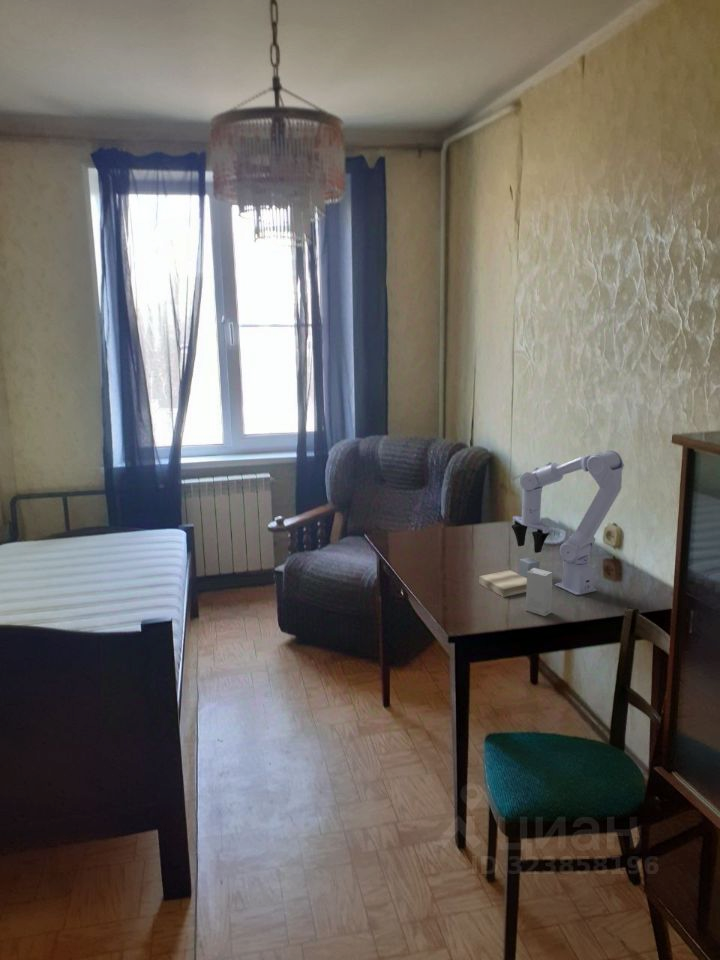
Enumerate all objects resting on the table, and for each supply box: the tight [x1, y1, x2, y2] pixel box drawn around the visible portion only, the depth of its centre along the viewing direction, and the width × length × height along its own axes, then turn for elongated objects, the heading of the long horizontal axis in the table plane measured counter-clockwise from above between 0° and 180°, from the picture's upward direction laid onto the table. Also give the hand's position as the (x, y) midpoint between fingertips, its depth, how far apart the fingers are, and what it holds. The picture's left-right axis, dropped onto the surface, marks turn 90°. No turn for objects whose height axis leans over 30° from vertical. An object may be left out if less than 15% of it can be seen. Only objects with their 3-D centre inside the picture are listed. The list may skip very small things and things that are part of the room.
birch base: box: [478, 569, 527, 598], centre depth 215 cm, size 12×12×2 cm
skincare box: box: [525, 568, 554, 617], centre depth 195 cm, size 6×4×12 cm
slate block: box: [518, 557, 540, 578], centre depth 224 cm, size 4×4×5 cm
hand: (529, 548), depth 224 cm, fingers open, 7 cm apart
